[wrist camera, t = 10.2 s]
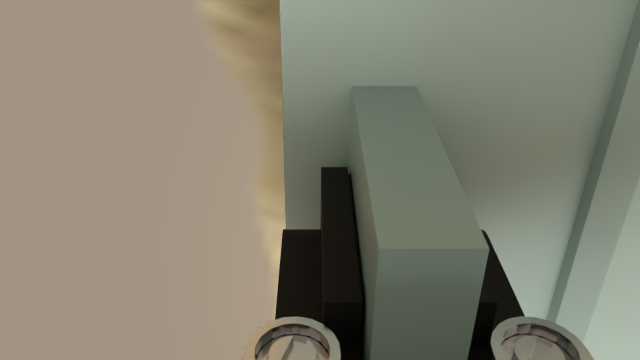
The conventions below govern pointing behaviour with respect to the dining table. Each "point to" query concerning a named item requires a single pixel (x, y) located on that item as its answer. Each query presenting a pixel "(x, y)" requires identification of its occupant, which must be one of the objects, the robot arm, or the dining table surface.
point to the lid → (473, 160)
